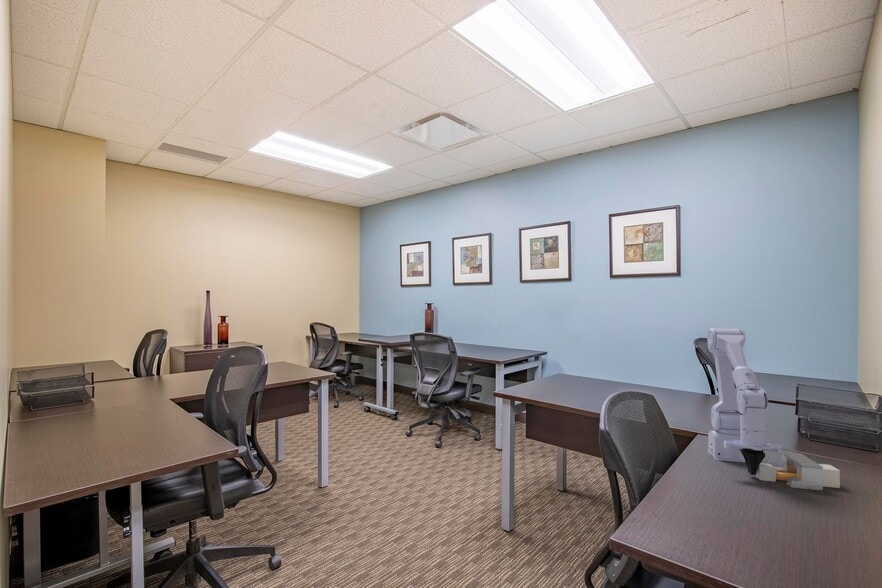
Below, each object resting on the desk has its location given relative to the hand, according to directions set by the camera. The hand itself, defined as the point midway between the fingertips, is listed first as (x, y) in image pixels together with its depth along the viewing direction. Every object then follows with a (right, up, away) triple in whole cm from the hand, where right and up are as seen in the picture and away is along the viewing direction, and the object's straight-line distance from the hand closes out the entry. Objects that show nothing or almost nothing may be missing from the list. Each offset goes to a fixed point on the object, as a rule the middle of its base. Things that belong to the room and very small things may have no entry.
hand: (752, 473), depth 125 cm
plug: (+11, -1, -3) cm, 11 cm away
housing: (+11, -1, -3) cm, 12 cm away
